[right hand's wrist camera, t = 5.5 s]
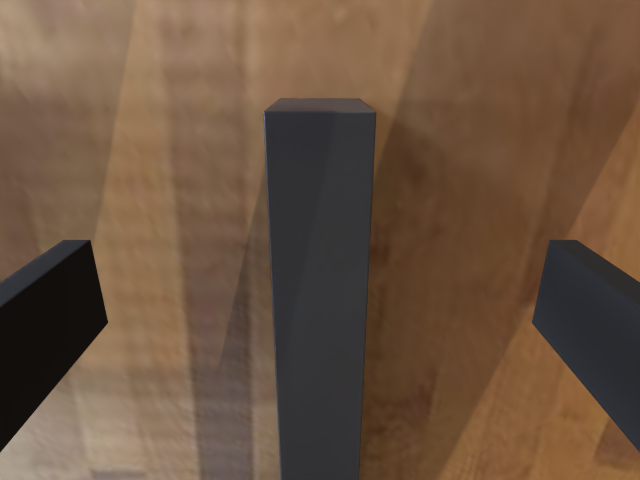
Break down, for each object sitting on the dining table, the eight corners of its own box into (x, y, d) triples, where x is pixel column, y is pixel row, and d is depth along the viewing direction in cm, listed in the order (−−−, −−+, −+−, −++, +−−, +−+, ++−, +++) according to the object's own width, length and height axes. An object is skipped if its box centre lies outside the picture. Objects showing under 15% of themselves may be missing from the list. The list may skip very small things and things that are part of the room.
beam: (279, 98, 26) (262, 111, 19) (360, 98, 26) (376, 111, 19) (293, 505, 40) (286, 606, 32) (346, 505, 40) (352, 606, 32)
